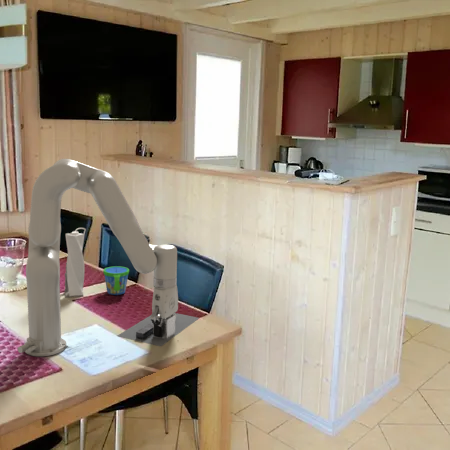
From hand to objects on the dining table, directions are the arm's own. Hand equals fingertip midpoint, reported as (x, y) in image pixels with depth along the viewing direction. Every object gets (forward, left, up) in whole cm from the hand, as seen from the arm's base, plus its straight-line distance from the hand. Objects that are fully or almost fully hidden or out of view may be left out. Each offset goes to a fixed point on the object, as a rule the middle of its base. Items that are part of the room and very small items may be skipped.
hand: (164, 331), depth 174 cm
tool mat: (+6, +5, -2) cm, 8 cm away
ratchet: (+4, +5, -1) cm, 7 cm away
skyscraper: (+20, +54, -2) cm, 57 cm away
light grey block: (0, 0, -1) cm, 1 cm away
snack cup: (+30, +41, -2) cm, 50 cm away
